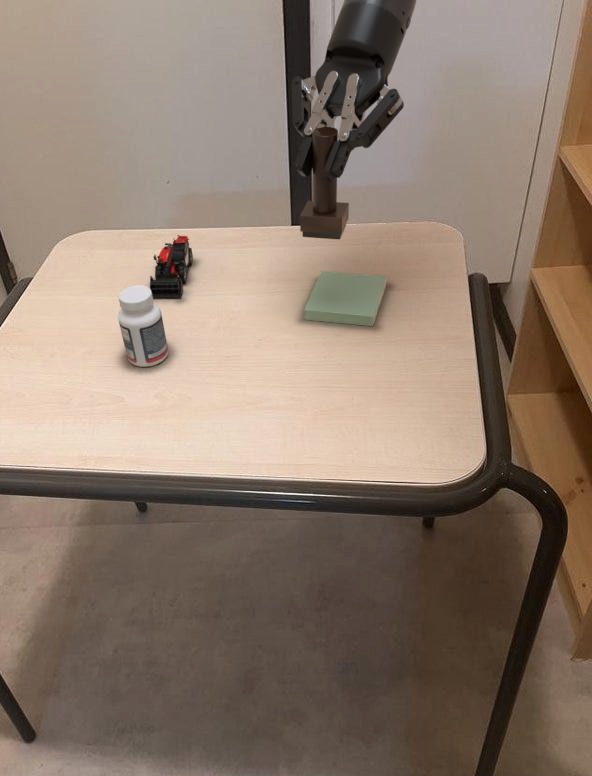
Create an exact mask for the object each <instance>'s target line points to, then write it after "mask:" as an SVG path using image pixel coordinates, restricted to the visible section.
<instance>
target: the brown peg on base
mask: <svg viewBox="0 0 592 776" xmlns="http://www.w3.org/2000/svg"><path fill="white" fill-rule="evenodd" d="M338 135H339V130H338V129H337V128H336V127H333V126H332V127H321V128H317V129H315V130H314V131H313V132H312V170H311V171H312V200H308V201H306V204H305V205H304V207H303V208H302V209H303V210H302V211H301V213H300V215H299V228H300V229H299V231H300V232H301V233H302V238H311V239H312V238H313V239H327V240H339V241H340V240H341V238H342V236H343V234H344V232H345V229H346V227H347V223H348V221H349V213H350V211H349V209H350V202H342V201H341V202H340V201H339V202H338V178H337V179H336V181H335V182H329V181H327V179H326V178H325V177H324V176H323V171H324V168H325V166H326V163H327V160H328V158H329V155H330V152H331V150H332V147H333V144H334V142H335V141H337V142H338V140H339V138H338Z"/></svg>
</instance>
